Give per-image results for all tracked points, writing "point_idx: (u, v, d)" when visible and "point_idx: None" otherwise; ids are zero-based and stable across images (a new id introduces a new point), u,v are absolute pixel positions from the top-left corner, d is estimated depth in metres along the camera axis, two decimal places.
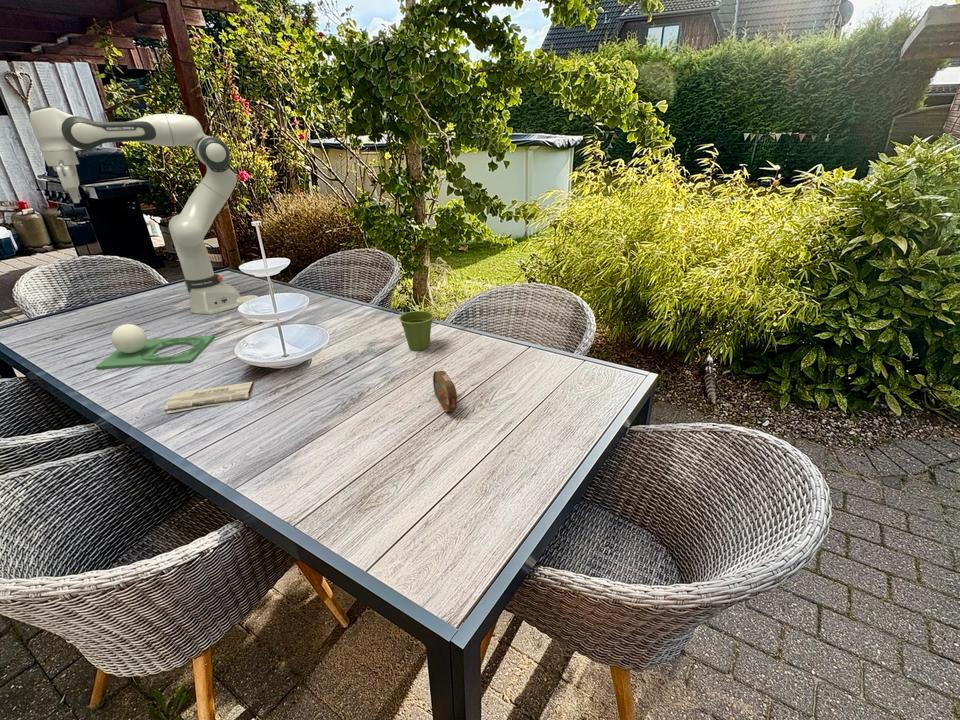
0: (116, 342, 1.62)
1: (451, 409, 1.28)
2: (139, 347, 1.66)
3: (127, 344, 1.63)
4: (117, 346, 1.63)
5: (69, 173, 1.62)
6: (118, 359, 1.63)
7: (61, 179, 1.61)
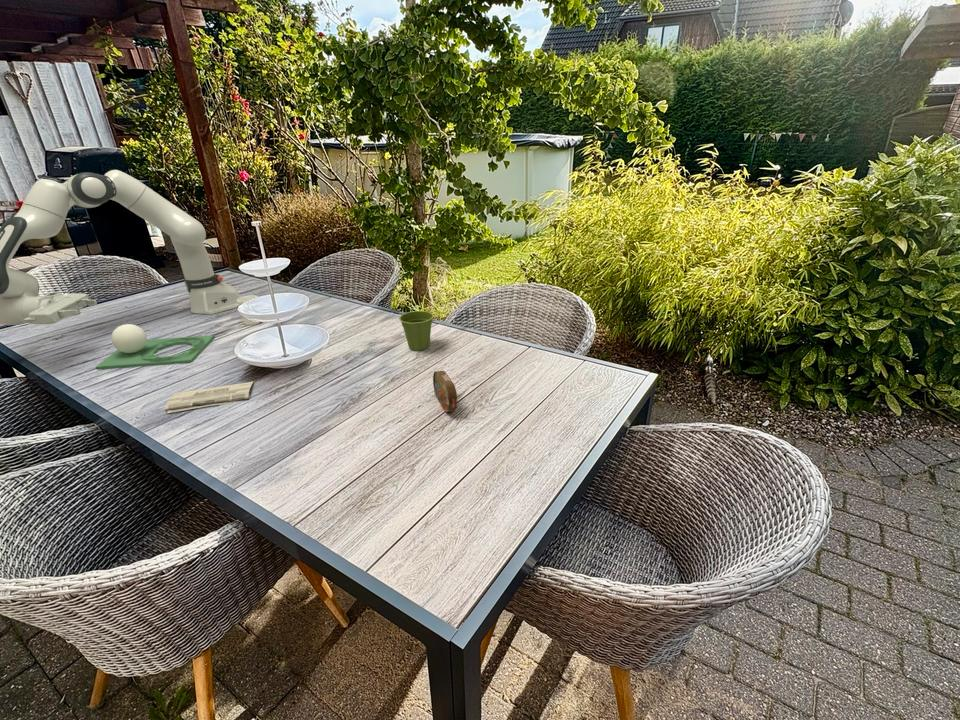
0: (116, 342, 1.62)
1: (451, 409, 1.28)
2: (139, 347, 1.66)
3: (127, 344, 1.63)
4: (117, 346, 1.63)
5: (32, 315, 1.50)
6: (118, 359, 1.63)
7: (41, 323, 1.51)
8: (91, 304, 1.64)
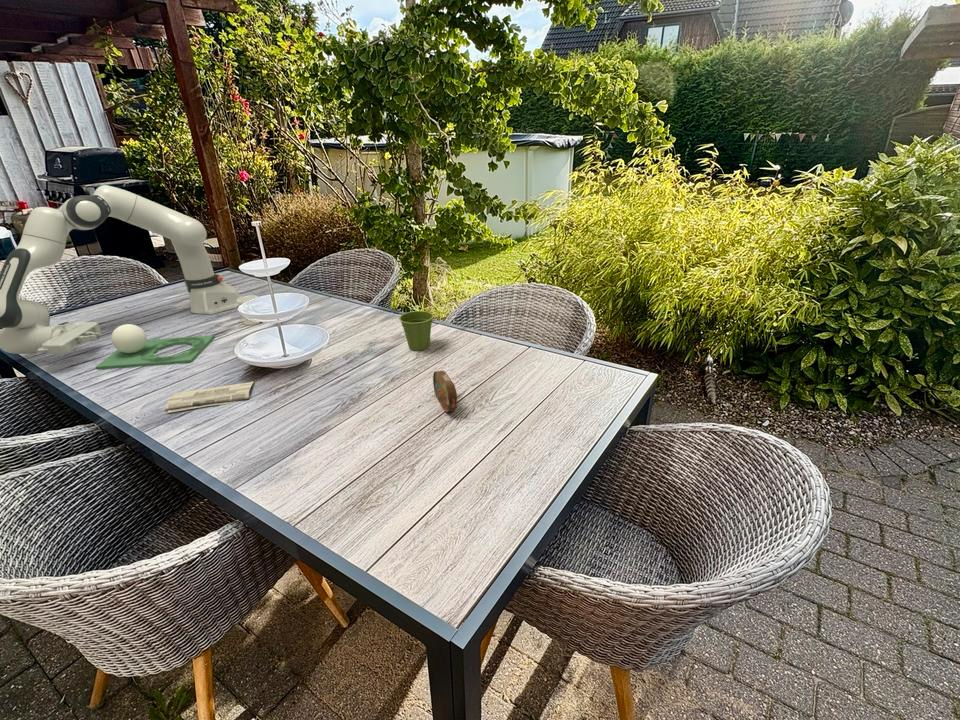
0: (116, 342, 1.62)
1: (451, 409, 1.28)
2: (139, 347, 1.66)
3: (127, 344, 1.63)
4: (117, 346, 1.63)
5: (46, 346, 1.55)
6: (118, 359, 1.63)
7: (54, 353, 1.56)
8: None
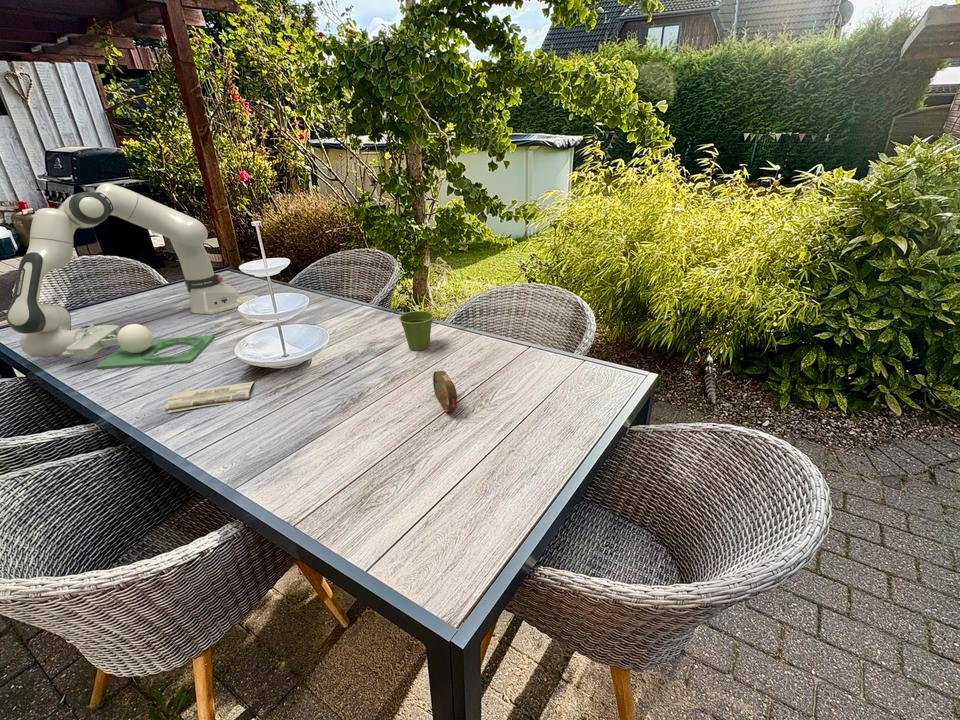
0: (124, 341, 1.62)
1: (451, 409, 1.28)
2: (142, 350, 1.67)
3: (133, 346, 1.63)
4: (122, 344, 1.62)
5: (70, 349, 1.56)
6: (118, 359, 1.63)
7: (78, 357, 1.57)
8: None
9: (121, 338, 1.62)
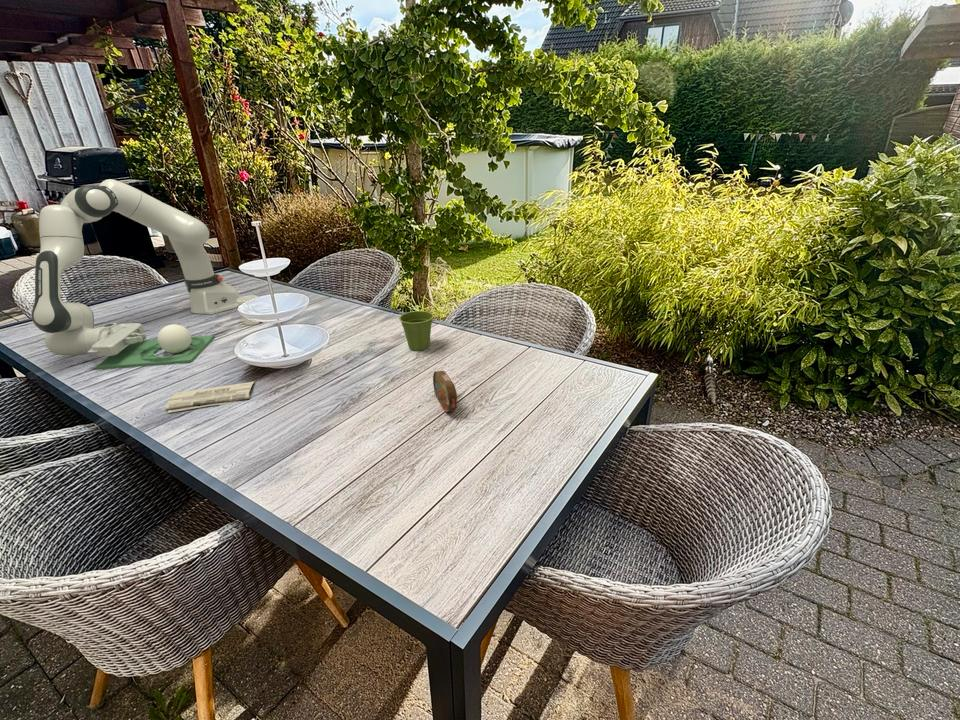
0: (172, 346, 1.64)
1: (451, 409, 1.28)
2: None
3: (162, 344, 1.64)
4: (171, 341, 1.63)
5: (95, 347, 1.57)
6: (118, 359, 1.63)
7: (103, 355, 1.58)
8: None
9: (176, 346, 1.65)
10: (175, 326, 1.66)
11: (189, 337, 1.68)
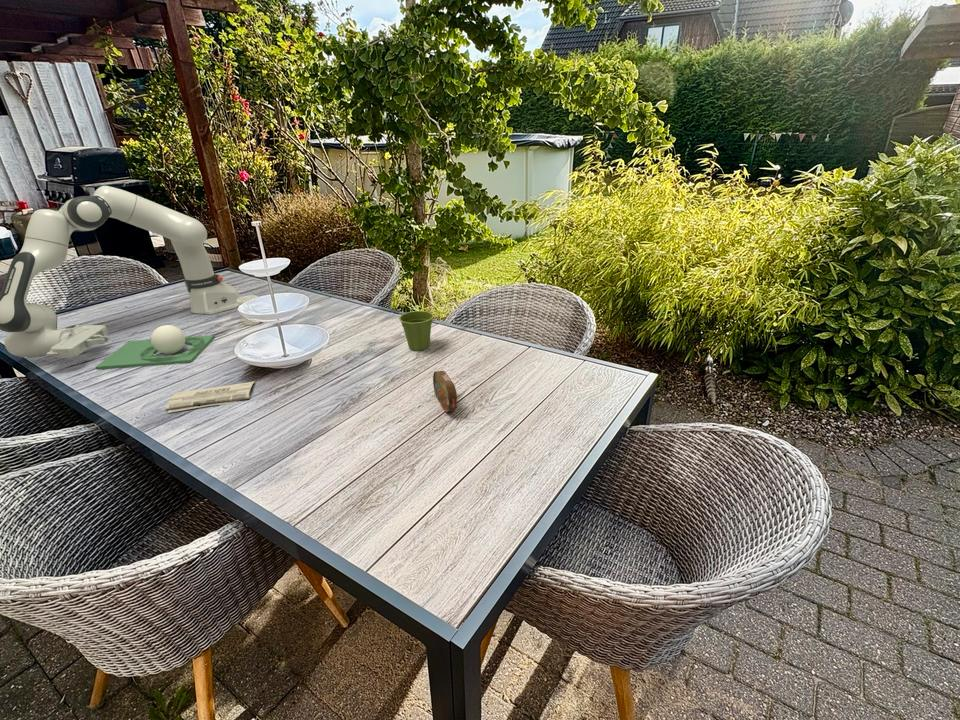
0: (166, 346, 1.63)
1: (451, 409, 1.28)
2: (151, 341, 1.65)
3: (157, 348, 1.64)
4: (163, 341, 1.63)
5: (55, 349, 1.55)
6: (118, 359, 1.63)
7: (63, 357, 1.56)
8: None
9: (170, 344, 1.64)
10: (162, 327, 1.65)
11: (179, 333, 1.67)
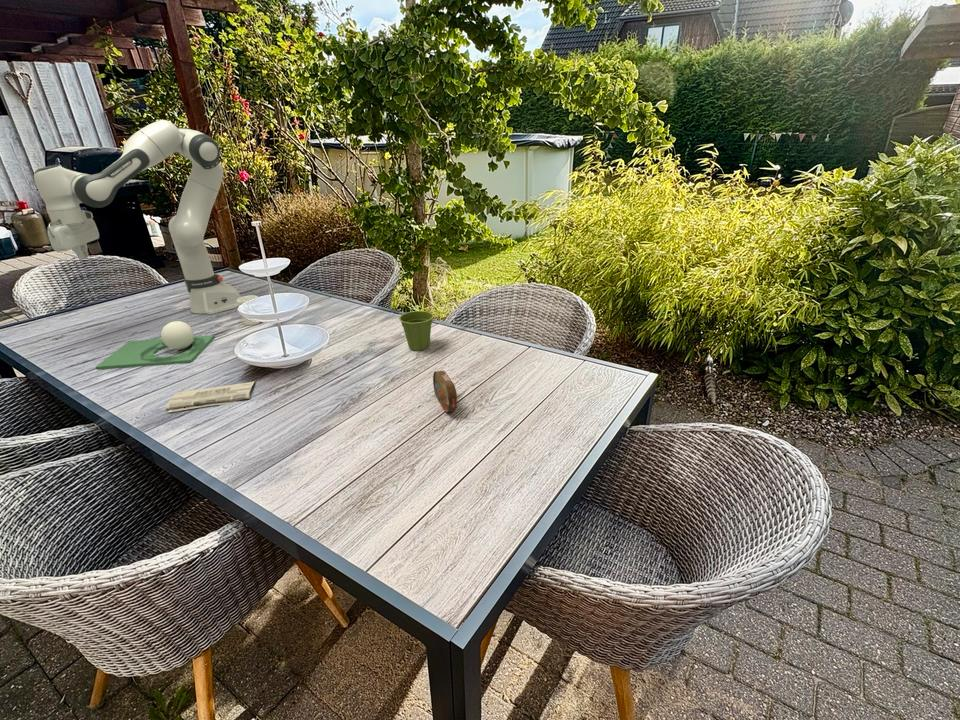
0: (171, 334, 1.66)
1: (451, 409, 1.28)
2: None
3: (163, 333, 1.66)
4: (172, 329, 1.66)
5: (57, 235, 1.56)
6: (118, 359, 1.63)
7: (50, 241, 1.56)
8: None
9: (175, 335, 1.66)
10: None
11: (191, 333, 1.70)
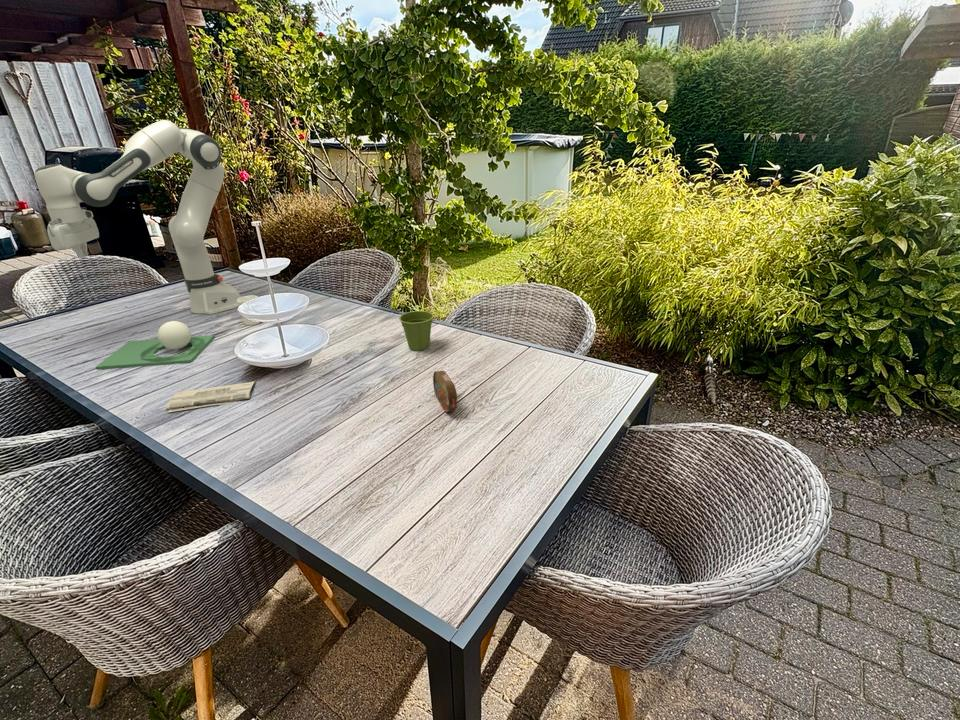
0: (166, 333, 1.66)
1: (451, 409, 1.28)
2: None
3: (159, 334, 1.67)
4: (166, 328, 1.66)
5: (57, 234, 1.56)
6: (118, 359, 1.63)
7: (50, 239, 1.56)
8: None
9: (170, 333, 1.66)
10: (175, 321, 1.71)
11: (186, 329, 1.70)
